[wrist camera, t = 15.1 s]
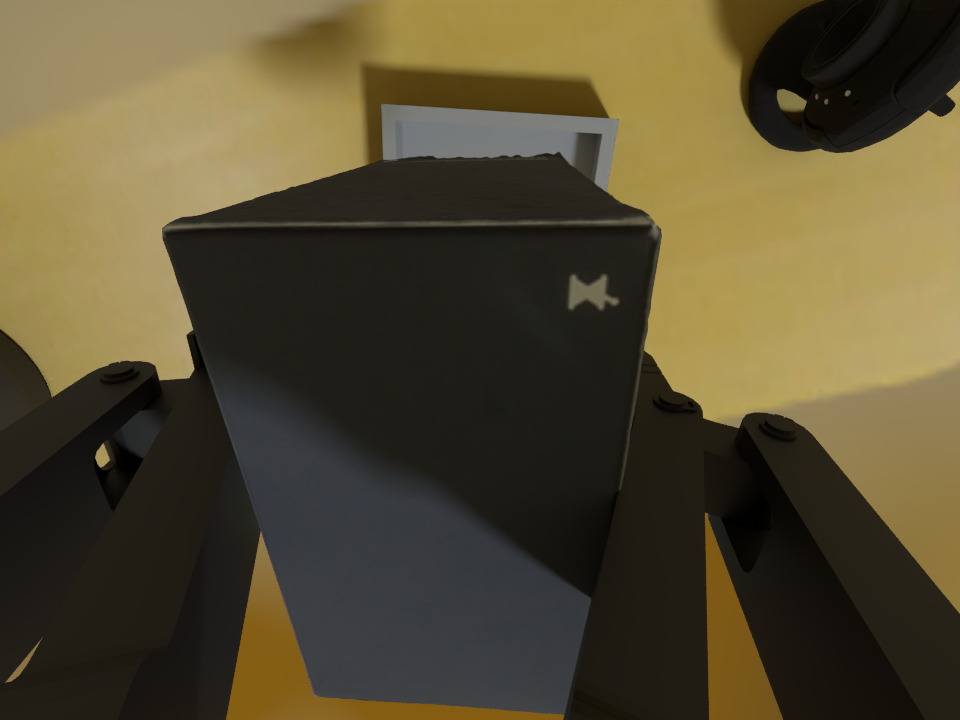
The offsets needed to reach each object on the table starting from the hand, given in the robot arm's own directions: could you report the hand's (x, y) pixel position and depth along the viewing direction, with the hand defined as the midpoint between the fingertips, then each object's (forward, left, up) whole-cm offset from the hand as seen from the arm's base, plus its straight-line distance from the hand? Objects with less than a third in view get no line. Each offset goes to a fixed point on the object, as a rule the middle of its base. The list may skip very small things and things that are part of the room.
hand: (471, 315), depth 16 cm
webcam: (+18, +9, -17) cm, 27 cm away
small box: (0, 0, -1) cm, 1 cm away
